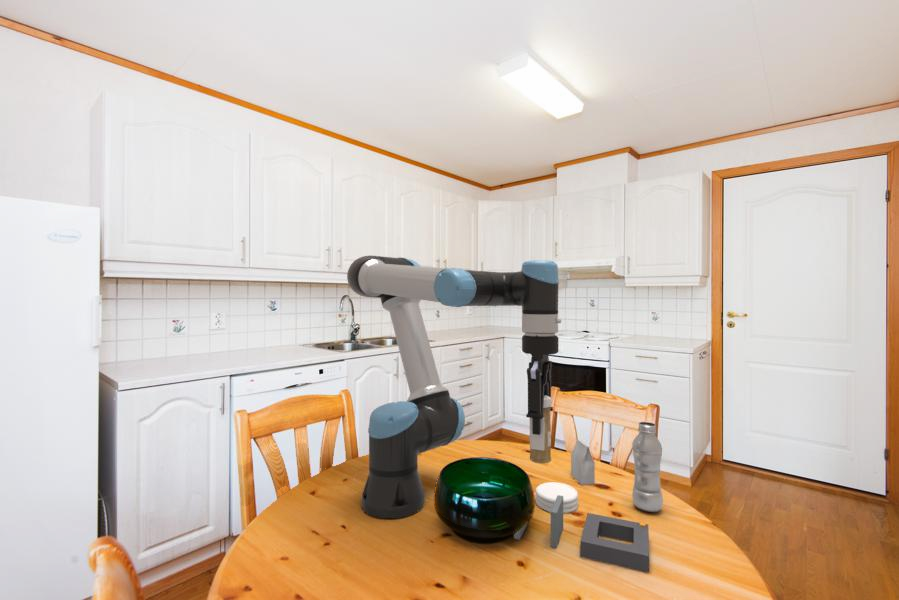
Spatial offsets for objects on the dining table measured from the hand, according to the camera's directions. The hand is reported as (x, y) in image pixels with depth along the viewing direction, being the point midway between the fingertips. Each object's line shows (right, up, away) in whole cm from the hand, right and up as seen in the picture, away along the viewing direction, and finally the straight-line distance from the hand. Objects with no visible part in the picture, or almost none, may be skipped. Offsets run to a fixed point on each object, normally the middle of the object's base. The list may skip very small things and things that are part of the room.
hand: (540, 445), depth 91 cm
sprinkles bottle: (0, -3, 0) cm, 3 cm away
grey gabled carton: (+17, -19, +27) cm, 37 cm away
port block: (+14, -19, -5) cm, 24 cm away
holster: (0, -19, 0) cm, 19 cm away
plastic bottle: (+28, -19, +11) cm, 35 cm away
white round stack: (+7, -19, +13) cm, 24 cm away
